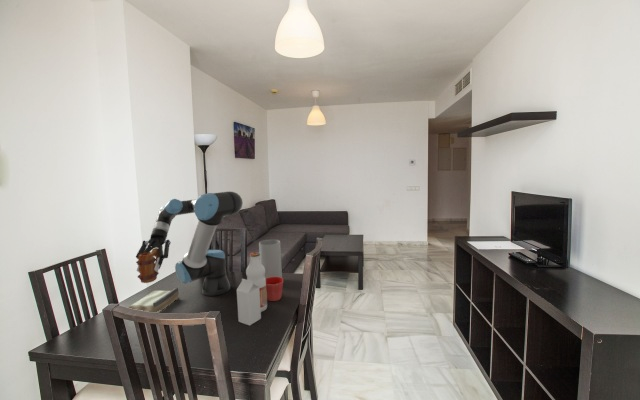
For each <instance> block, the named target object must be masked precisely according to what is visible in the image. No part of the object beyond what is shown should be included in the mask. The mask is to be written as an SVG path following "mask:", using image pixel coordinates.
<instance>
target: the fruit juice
mask: <svg viewBox="0 0 640 400" xmlns="http://www.w3.org/2000/svg"><path fill="white" fill-rule="evenodd" d="M245 274H246V280H250V281H253V282H254V284H255V285H256V286H258V287H259V291H260V309H261V313H262V312H264V311H265V310H267V308H268V300H267V291H266V279H265V276H264V275H265V268H264V266H263V265H262V264H261V262H260V253H259V251H251V252H250V253H249V263H248V266H247V267H246V269H245Z"/></svg>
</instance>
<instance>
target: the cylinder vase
mask: <svg viewBox="0 0 640 400" xmlns="http://www.w3.org/2000/svg"><path fill="white" fill-rule="evenodd" d="M281 246H282V245H281V240H279V239H264V240H261V241H259V242H258V249H259V250H258V252H259V253H260V257H259V258H260V262H261V264H262V265H263V266H264V268H265V275H264V276H265V279H266V278H269V277H281V278H283V272H282V271H283V270H282V251H281V250H282V249H281Z"/></svg>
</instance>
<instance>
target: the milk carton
mask: <svg viewBox="0 0 640 400" xmlns="http://www.w3.org/2000/svg"><path fill="white" fill-rule="evenodd" d="M236 301H237V318H238V322H239V323H242V324H243V325H247V326H252V325H253V324H255V323H256V322H257V321H260V320H261V319H262V312H261V309H260V291H259V287H258V286H256V285H255V284H254V282H253V281H250V280H247V278H241V281H240V284H239V285H238V287H237V288H236Z"/></svg>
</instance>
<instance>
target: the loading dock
mask: <svg viewBox="0 0 640 400" xmlns="http://www.w3.org/2000/svg"><path fill="white" fill-rule="evenodd" d="M179 296H180V295H179V288H178V287H174V288H173V289H172V290H153V291H152V292H151V291H150V292H149V293H148V294H147V295H144V296H143V297H141V298H140V299H138V300H137V301H135V302H134V303H133V304H131V305H129V306H128V309H129V308H132V309H137V310H143V311H149V312H157V311H159V310H162V309H164V308H165V307H167V306H168V305H169V306H171V305H172V304H173V303H174V301H175V300H176V301H177V300H179V299H178V298H180V297H179ZM176 301H175V302H176ZM171 303H172V304H171ZM170 304H171V305H170ZM169 306H168V307H169ZM168 307H167V308H168ZM165 309H166V308H165ZM165 309H164V310H165Z"/></svg>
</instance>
